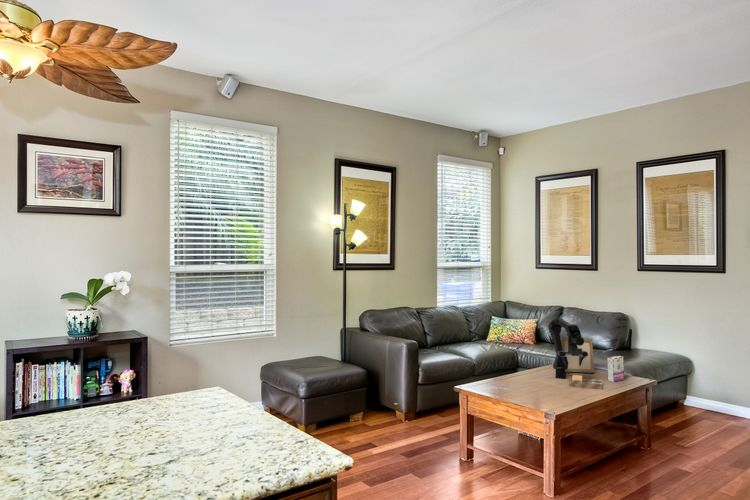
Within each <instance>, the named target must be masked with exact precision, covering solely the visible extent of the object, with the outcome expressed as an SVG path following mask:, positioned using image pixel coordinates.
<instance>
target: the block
mask: <svg viewBox="0 0 750 500" xmlns="http://www.w3.org/2000/svg"><path fill="white" fill-rule="evenodd" d="M582 379H583V375H577V374H573V375H572V381H573V380H580V381H581V382H582Z"/></svg>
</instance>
